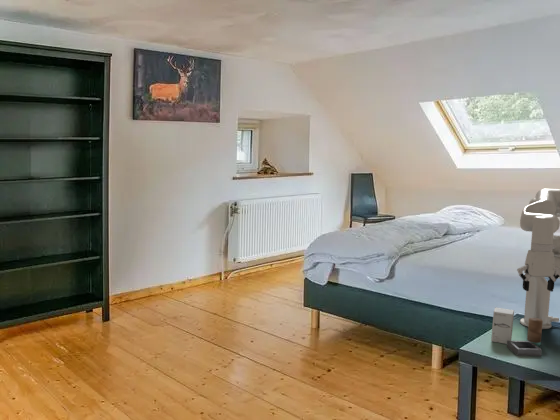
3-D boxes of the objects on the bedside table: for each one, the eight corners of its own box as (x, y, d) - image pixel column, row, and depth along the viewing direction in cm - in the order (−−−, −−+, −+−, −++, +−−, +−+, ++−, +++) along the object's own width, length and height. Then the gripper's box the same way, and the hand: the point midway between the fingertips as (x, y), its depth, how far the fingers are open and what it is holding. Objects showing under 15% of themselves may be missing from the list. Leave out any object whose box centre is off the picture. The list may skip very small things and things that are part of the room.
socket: (529, 347, 209) (529, 340, 208) (541, 355, 200) (541, 349, 199) (506, 346, 208) (507, 340, 208) (517, 355, 200) (518, 349, 199)
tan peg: (536, 341, 215) (538, 317, 214) (543, 346, 210) (545, 321, 209) (524, 341, 215) (526, 317, 214) (530, 346, 210) (532, 321, 209)
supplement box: (490, 341, 214) (492, 311, 212) (492, 336, 220) (494, 306, 219) (510, 345, 210) (512, 314, 209) (512, 339, 217) (514, 309, 215)
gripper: (557, 246, 212) (554, 288, 214) (515, 245, 211) (511, 287, 213) (568, 250, 204) (564, 293, 206) (524, 249, 204) (520, 292, 206)
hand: (537, 290), depth 210 cm, fingers open, 9 cm apart
